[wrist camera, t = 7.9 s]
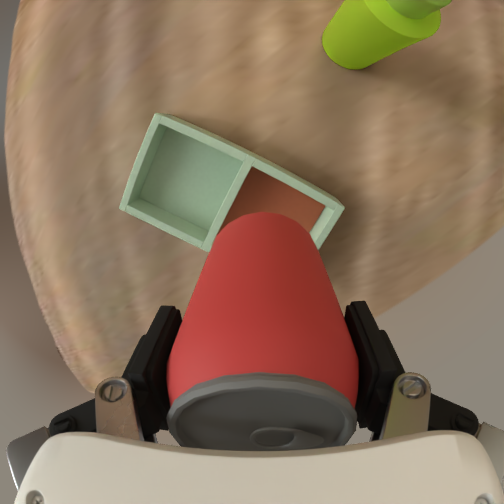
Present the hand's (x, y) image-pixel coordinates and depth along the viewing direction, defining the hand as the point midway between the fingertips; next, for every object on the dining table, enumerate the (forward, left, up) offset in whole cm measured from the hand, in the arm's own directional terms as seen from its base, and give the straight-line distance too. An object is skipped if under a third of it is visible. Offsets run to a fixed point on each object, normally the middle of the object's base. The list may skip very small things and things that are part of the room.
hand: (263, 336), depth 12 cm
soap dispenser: (0, +20, -20) cm, 29 cm away
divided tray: (-3, -1, -20) cm, 21 cm away
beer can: (0, 0, -7) cm, 7 cm away
